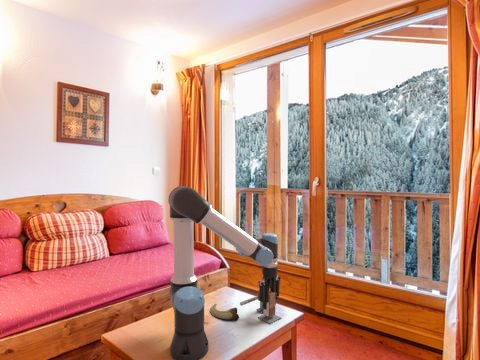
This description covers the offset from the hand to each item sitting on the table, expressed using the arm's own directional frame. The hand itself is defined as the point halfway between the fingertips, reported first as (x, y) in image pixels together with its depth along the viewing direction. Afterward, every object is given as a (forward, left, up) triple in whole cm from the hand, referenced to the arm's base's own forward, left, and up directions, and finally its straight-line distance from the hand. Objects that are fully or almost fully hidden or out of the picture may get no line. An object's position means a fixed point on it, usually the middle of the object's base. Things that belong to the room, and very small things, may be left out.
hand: (269, 313), depth 144 cm
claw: (-13, +19, -3) cm, 23 cm away
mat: (0, 0, -2) cm, 2 cm away
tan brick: (0, +2, -1) cm, 2 cm away
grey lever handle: (-4, +8, -2) cm, 9 cm away
